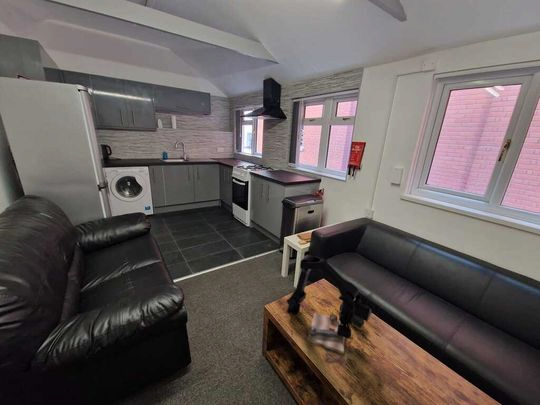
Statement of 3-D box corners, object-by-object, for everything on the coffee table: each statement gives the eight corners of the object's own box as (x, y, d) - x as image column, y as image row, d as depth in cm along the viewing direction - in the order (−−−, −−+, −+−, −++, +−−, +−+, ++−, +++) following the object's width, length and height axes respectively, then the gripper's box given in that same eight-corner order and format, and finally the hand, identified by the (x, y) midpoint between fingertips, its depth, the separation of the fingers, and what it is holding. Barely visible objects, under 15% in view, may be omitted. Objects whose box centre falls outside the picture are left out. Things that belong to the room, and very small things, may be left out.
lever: (309, 334, 115) (310, 323, 112) (308, 329, 118) (310, 317, 116) (344, 339, 113) (346, 328, 111) (343, 333, 116) (345, 322, 114)
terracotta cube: (328, 330, 118) (329, 327, 117) (329, 327, 120) (329, 324, 119) (334, 332, 117) (334, 329, 116) (334, 329, 119) (335, 326, 118)
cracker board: (307, 340, 114) (308, 333, 112) (314, 314, 131) (315, 308, 129) (343, 354, 108) (344, 347, 106) (345, 324, 125) (346, 318, 123)
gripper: (365, 329, 97) (359, 354, 102) (364, 301, 114) (359, 323, 119) (339, 321, 101) (334, 345, 106) (342, 294, 117) (338, 317, 122)
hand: (342, 332), depth 113 cm, fingers open, 4 cm apart
